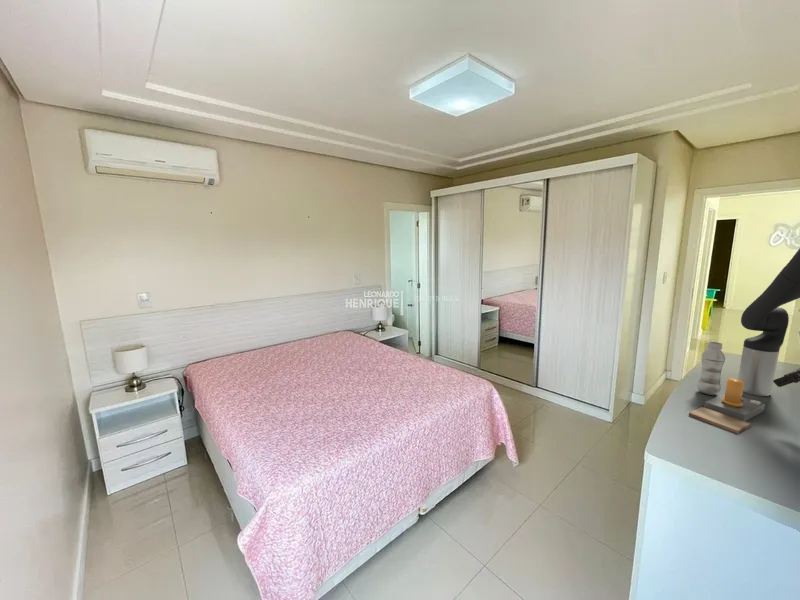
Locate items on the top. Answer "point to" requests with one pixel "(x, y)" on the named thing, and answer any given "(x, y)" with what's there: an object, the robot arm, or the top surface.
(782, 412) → the top surface
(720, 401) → the grey socket board
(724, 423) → the board
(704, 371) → the plastic bottle
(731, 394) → the plug
